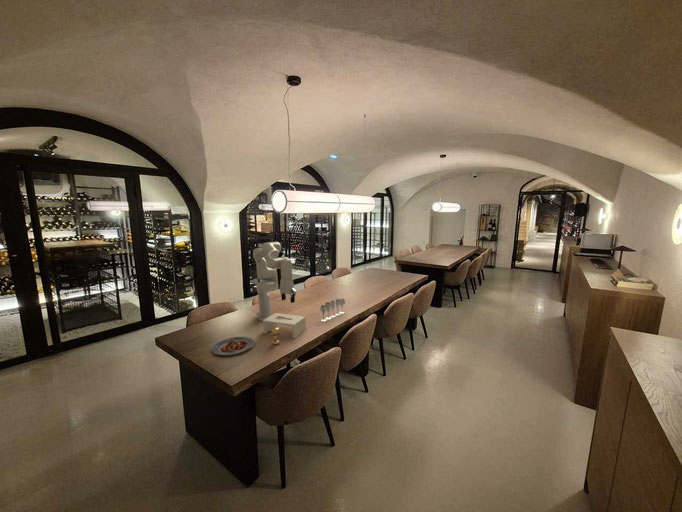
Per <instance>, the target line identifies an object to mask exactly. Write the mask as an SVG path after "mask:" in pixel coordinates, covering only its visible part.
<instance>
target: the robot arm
mask: <svg viewBox="0 0 682 512" xmlns="http://www.w3.org/2000/svg"><path fill="white" fill-rule="evenodd" d="M281 251H282V245H281V243H280V242H279V241H268V242H267V241H266V242H264V243H262V245H261V247H256V248H254V249H253V252H252V255H253V259H254V261H255V264H256V265H255V266H256V277H257V279H258V280H261V281H259V282H257V284H256V291H257V296H258V311H257V312H256V314H255V316H258V317H257V320H258V321H262V322H263V320H264V319H266V318H268V317H269V316H271V315H272V303H271V296H270V294H268V293H270V292H276V291H277V290H278V289H279V292H280V296H281V301H285V300H287V299H286V297H287V296H286V295H290V298H289V299H290V303H291V304H292V303H295V302H296V294H297V290H296V289H295V284H294V279H293V265H292V264H293V261H292V259H291V258H288V257H286V256H284V257H279V254H280V252H281ZM279 269H280V277H281V278H280V282H279V281H278V271H277V270H279ZM262 280H263V281H262ZM279 283H280V284H279Z"/></svg>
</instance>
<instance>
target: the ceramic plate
mask: <svg viewBox="0 0 682 512" xmlns="http://www.w3.org/2000/svg"><path fill="white" fill-rule="evenodd" d="M254 344H255V340H254V339H253V338H252V337H249V336H243V335H242V336H232V337H228V338H225V339H221V340H220V341H218V342H216V343H215V344H214V345H213V346H212V348H211V350H212V352H213V353H214V354H216V355H221V356H233V355H238V354H240V353H243V352H246V351H248V350H250V349H252V347H253V346H254Z"/></svg>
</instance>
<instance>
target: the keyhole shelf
mask: <svg viewBox="0 0 682 512" xmlns="http://www.w3.org/2000/svg"><path fill="white" fill-rule="evenodd" d="M279 318H280V319H279ZM279 325H283V326H289V327H292V339H296V338H297V337H298V336H300V335H302V333H303V332H305V331H306V330H307V328H306V326H307V325H306V316H301V315H296V314H295V315H294V314H288V313H287V314H286V313H278V312H275V313H273V314H271V316H269V317H268V318H266V319H264V320H263V321H262V327H263V329H262V330H263V334H265V335H266V334H267V333H269V332H271V329H272V328H274V327H278V326H279Z"/></svg>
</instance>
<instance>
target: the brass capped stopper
mask: <svg viewBox="0 0 682 512" xmlns="http://www.w3.org/2000/svg"><path fill="white" fill-rule="evenodd" d="M270 332H271V336H272V337H273V339H274V340H272V345H274V346H278V345H280V340H279V339H278V336H279V335H280V328H279V327H278V326H277V327H274V328H272V329H271V330H270Z"/></svg>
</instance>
